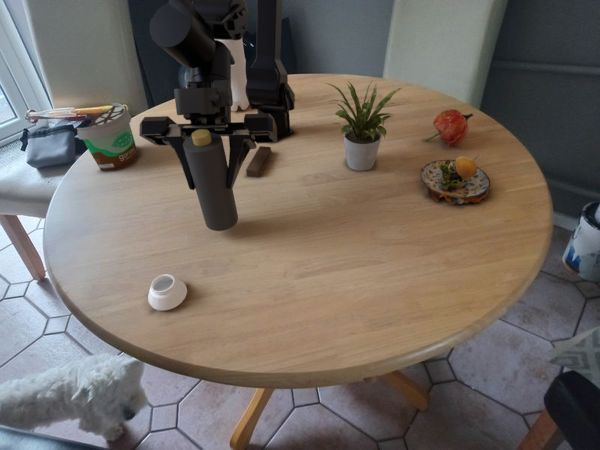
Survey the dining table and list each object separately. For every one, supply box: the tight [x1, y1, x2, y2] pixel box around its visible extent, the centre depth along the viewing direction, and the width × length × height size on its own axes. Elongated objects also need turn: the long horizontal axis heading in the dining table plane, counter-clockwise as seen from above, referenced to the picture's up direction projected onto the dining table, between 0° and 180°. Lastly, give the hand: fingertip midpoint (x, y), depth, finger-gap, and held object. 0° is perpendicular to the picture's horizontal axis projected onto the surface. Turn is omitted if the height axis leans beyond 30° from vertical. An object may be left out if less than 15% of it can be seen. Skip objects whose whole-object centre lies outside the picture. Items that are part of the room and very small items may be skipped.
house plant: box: [324, 79, 403, 172], centre depth 68 cm, size 14×14×16 cm
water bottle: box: [214, 36, 250, 112], centre depth 87 cm, size 7×7×25 cm
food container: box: [76, 102, 139, 172], centre depth 75 cm, size 12×6×10 cm, turn 168°
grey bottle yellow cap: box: [183, 129, 239, 232], centre depth 54 cm, size 5×5×15 cm
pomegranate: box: [425, 108, 474, 147], centre depth 76 cm, size 7×7×10 cm
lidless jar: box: [147, 273, 188, 311], centre depth 49 cm, size 5×3×5 cm
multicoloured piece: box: [420, 155, 491, 205], centre depth 64 cm, size 12×12×8 cm
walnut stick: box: [245, 145, 272, 178], centre depth 74 cm, size 9×2×2 cm, turn 167°
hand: (210, 189), depth 53 cm, fingers closed on grey bottle yellow cap, 5 cm apart
